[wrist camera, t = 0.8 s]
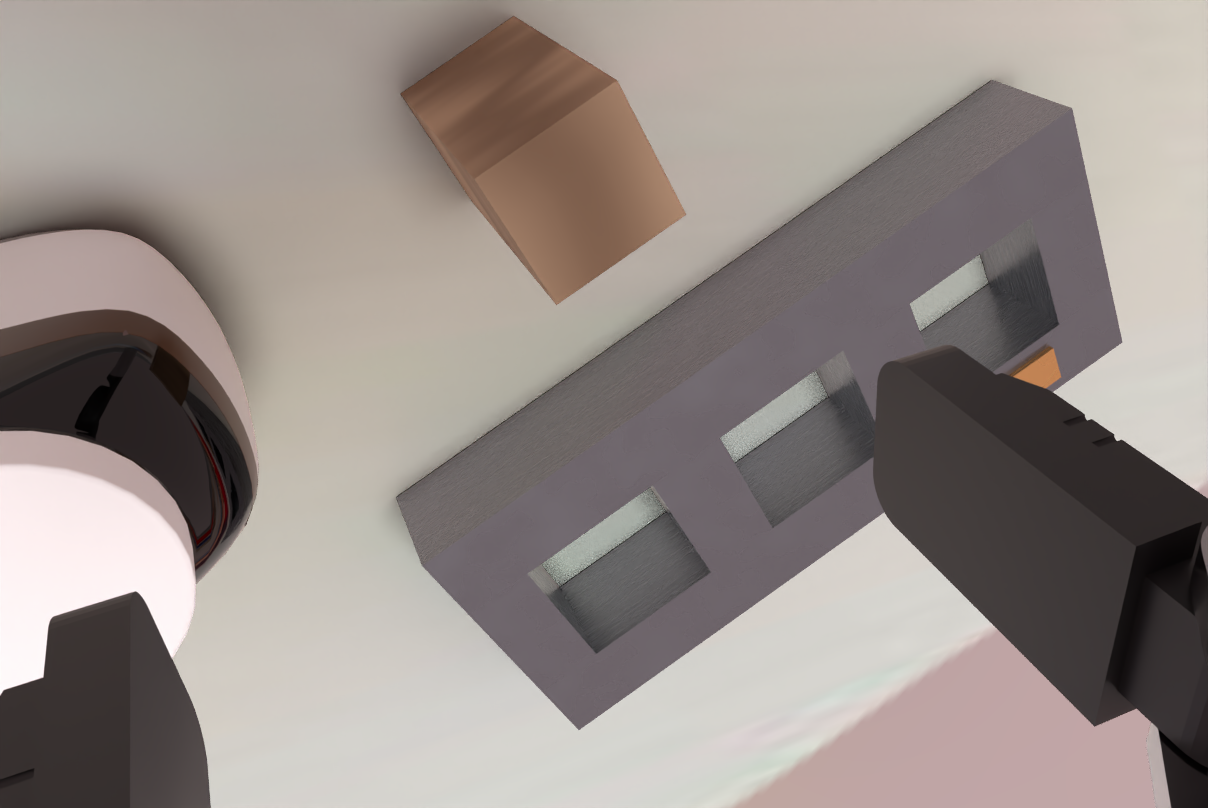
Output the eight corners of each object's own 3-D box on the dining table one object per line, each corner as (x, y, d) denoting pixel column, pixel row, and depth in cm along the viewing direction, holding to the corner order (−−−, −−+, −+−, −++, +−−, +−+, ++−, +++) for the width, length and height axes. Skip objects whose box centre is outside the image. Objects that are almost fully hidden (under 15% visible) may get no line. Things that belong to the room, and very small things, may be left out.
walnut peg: (513, 15, 31) (617, 80, 24) (577, 129, 33) (686, 214, 27) (400, 93, 31) (474, 178, 24) (471, 201, 33) (556, 305, 27)
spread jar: (147, 167, 29) (161, 353, 20) (317, 471, 36) (387, 717, 26) (-304, 345, 27) (-523, 644, 18) (-36, 631, 34) (-96, 959, 24)
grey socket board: (991, 79, 38) (1076, 109, 35) (1050, 301, 45) (1126, 344, 41) (396, 497, 37) (423, 569, 34) (545, 660, 44) (580, 734, 41)
